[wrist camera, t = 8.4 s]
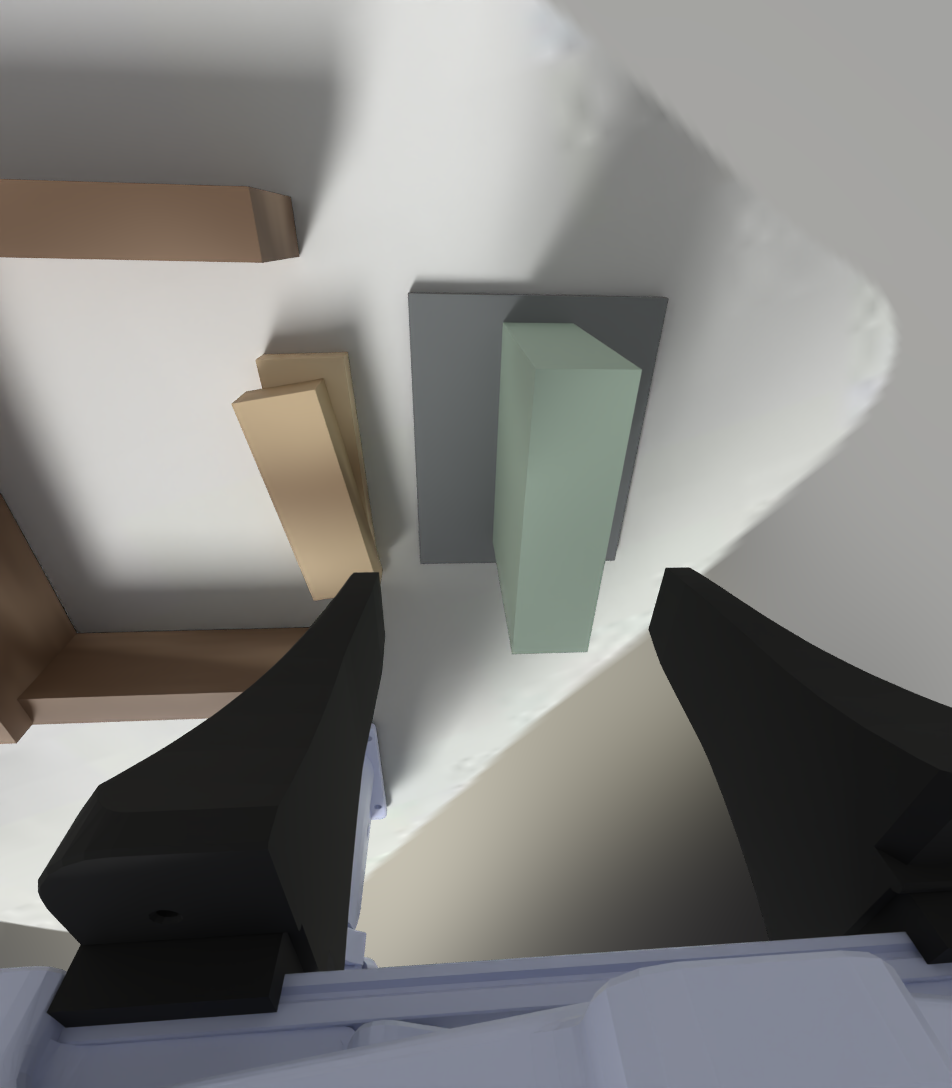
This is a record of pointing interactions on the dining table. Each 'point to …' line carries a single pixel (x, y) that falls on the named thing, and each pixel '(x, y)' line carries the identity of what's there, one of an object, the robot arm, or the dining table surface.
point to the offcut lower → (341, 394)
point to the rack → (3, 553)
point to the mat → (473, 402)
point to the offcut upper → (309, 482)
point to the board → (557, 478)
